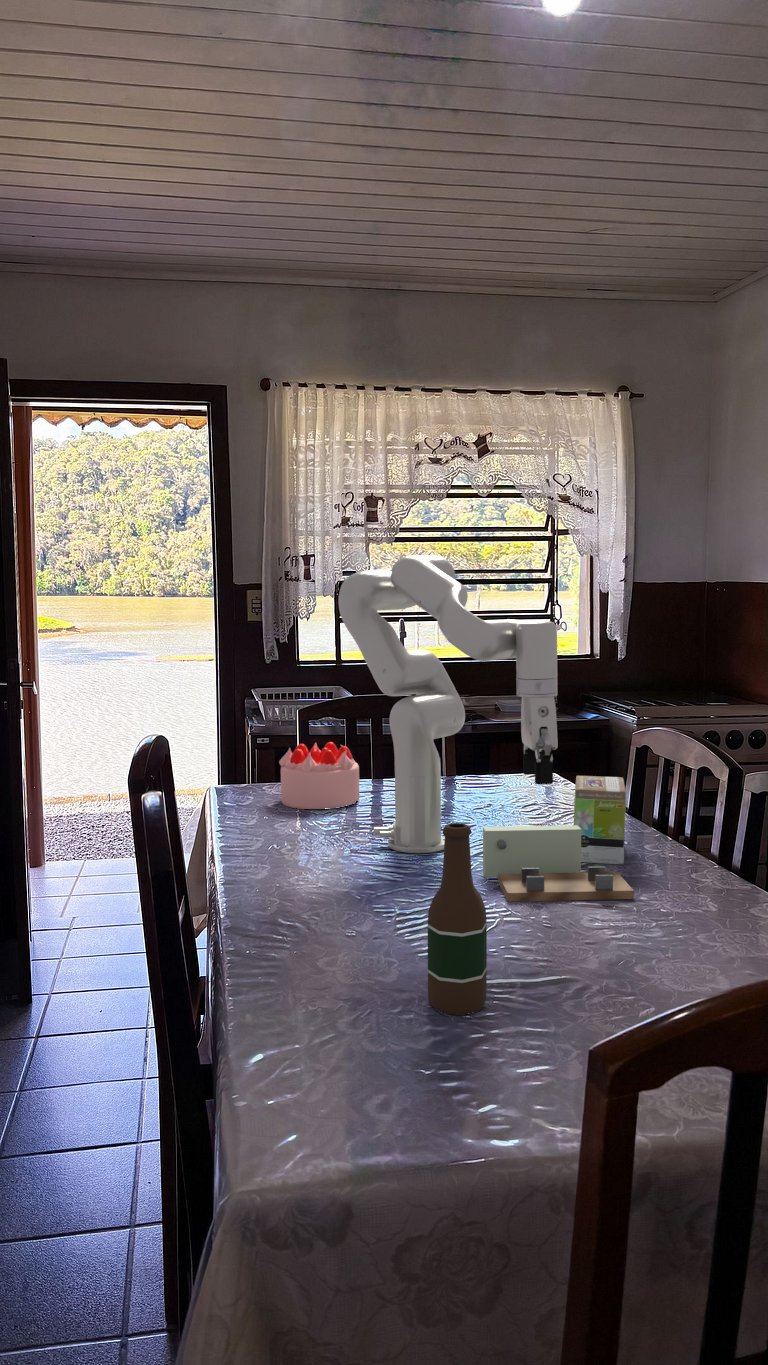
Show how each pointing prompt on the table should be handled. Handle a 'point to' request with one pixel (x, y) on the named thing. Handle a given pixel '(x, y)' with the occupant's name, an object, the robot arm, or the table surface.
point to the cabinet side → (564, 888)
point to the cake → (319, 777)
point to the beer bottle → (457, 932)
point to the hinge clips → (594, 874)
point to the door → (531, 849)
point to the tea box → (600, 818)
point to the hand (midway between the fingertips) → (537, 778)
